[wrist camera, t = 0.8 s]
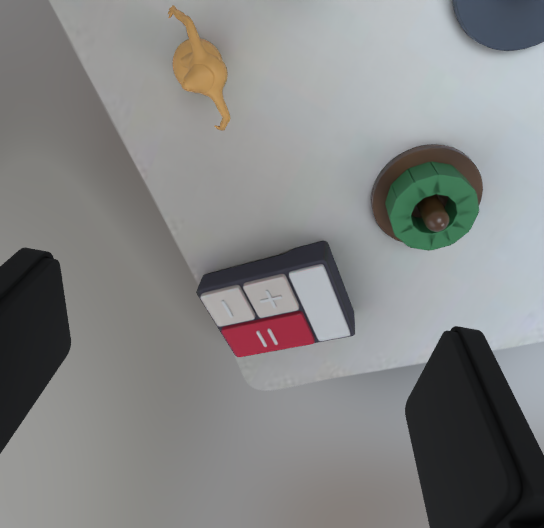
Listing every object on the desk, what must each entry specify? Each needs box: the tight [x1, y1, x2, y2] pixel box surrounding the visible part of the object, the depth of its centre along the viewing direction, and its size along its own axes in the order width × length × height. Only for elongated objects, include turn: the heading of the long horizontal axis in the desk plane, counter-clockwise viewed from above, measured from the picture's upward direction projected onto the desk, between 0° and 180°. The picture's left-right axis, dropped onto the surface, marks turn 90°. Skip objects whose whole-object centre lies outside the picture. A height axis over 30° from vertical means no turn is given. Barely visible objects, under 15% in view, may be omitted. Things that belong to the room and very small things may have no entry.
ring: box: [385, 161, 479, 250], centre depth 38 cm, size 7×7×3 cm
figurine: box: [168, 5, 230, 131], centre depth 30 cm, size 8×6×12 cm
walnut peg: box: [371, 145, 483, 242], centre depth 38 cm, size 10×10×6 cm
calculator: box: [196, 241, 355, 357], centre depth 47 cm, size 11×4×15 cm
